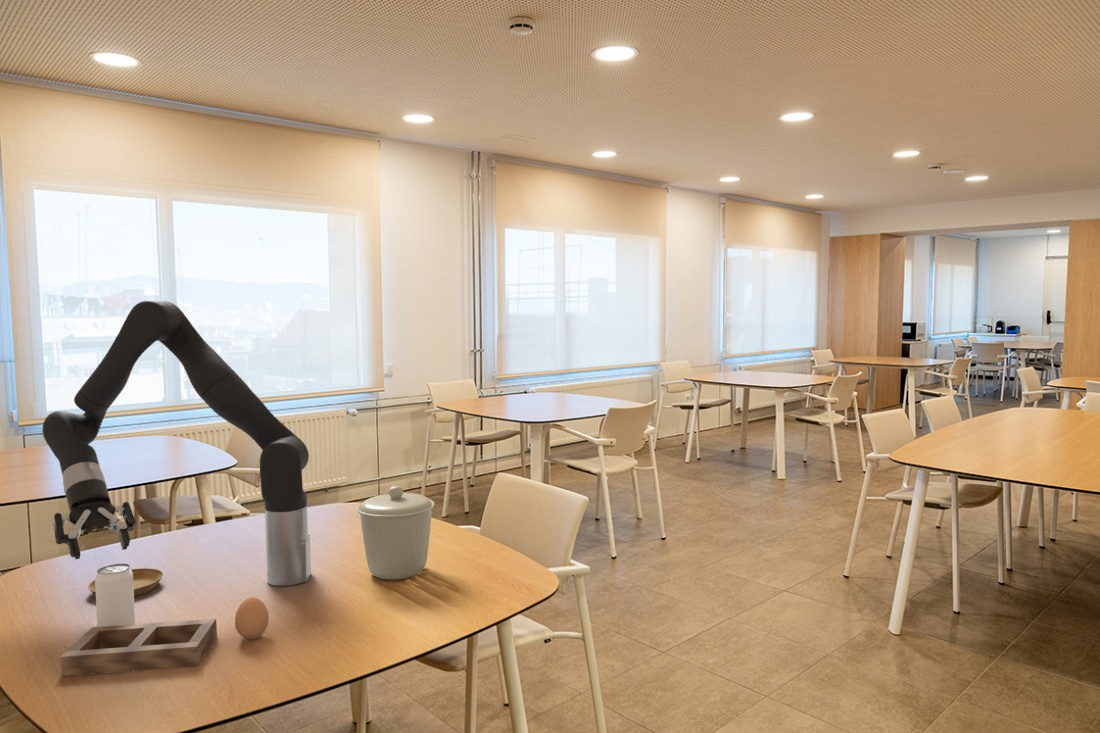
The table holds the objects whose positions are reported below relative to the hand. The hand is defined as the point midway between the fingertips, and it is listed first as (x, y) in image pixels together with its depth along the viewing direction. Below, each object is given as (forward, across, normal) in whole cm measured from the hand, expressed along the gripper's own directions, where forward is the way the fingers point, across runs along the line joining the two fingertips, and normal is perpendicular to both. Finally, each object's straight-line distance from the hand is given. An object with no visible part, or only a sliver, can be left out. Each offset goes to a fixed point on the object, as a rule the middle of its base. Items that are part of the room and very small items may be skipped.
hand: (102, 552), depth 151 cm
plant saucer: (+1, +7, +18) cm, 20 cm away
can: (+15, 0, +4) cm, 16 cm away
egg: (+32, +17, -13) cm, 39 cm away
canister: (+25, +56, -6) cm, 62 cm away
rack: (+27, 0, -9) cm, 29 cm away
